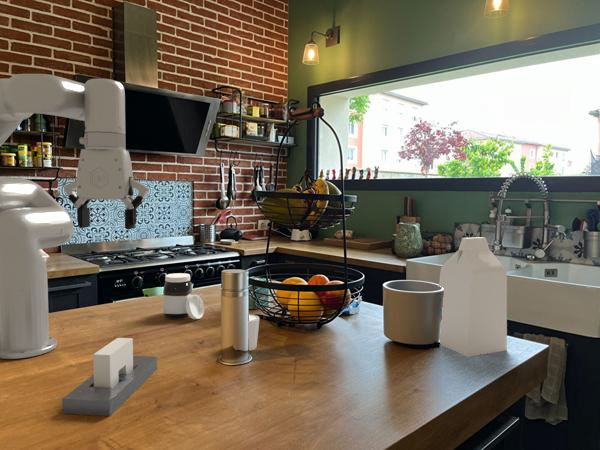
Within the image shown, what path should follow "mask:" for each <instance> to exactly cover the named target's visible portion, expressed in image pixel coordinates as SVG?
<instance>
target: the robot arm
mask: <svg viewBox="0 0 600 450" xmlns="http://www.w3.org/2000/svg"><path fill="white" fill-rule="evenodd" d="M34 114H42V115H43V114H44V115H49V116H54V117H55V116H56V117H60V118H61V117H62V118H66V119H67V118H68V119H72V120H78V121H83V122H84V136H83V137H82V136H81V137H79V144H81V145H84V148H83V149H80V154H79V158H78V163H77V171H76V172H77V173H76V179H75V180H74V181H72V182H69V183H68V184H66V185H65V186H64V188H63V189H64V191H65V192H66V193H65V194H66V195H67V197H68V200H69V201H70V203H72V204H73V206H74V209H75V208H76V214H77V215H76V216H77V224H78V228H79V229H85V228H89V227H90V226H91V214H90V213H91V209H90V207H88V206H89V204H90V203H91V202H92V200H98V201H99V200H101V201H103V200H105V201H107V200H108V201H109V200H110V201H116V200H121V202H122V203H123V204H124V205H125V206H126V209H124V228H125V230H131V229H136V228H135V227H136V225H137V209H138V208H139V207H140V206H141V205H142V203H143V202H145V200H146V199H145V198H146V197H147V195H148V193H149V190H150V188H149V187H148V186H146V185H144V184H142V183H140V182H139V181H137V180H135V179H134V176H133V175H134V174H133V166H132V165H133V164H132V161H131V160H132V159H131V156H130V152H129V150H127V149H126V148H127V147H126V92H125V87H124V85H123V84H122V83H121V82H120V81H116V80H114V79H109V78H91V79H88V80H87V81H85V83H83V82H79V81H76V80H73V79H69V78H65V77H61V76H57V75H53V74H49V73H48V74H47V73H17V74H13V75H12V76H10V77H9V78H0V147H2V145H3V144H4V143H5V142H6V140H8V138H9V137H10V136H11V135H12V134H13V132H15V130H16V129H18V127H19V126H20V124H21V123H22V121H24V120H27V119H29V118H30V117H31V116H32V115H34ZM134 189H135V190H137V191H138V194H137V196H136V197H135V198H134ZM74 227H75V226H74V223H73V220H72V218H71V215H70V214H69V213H68V211H67V210H66V209H65V208H64V207H63V206H62V205H61V204H60V203H59V202H57V200H55V199H54V198H53V197H52V195H50V193H48V192H47V191H46V190H45V189H44V188H43V187H42V186H41V185H40V184H38V183H36V182H35V181H32V180H30V179H27V178H20V177H19V178H17V177H16V178H14V177H11V178H10V177H9V178H8V177H2V176H0V359H4V360H5V359H6V360H17V359H26V358H32V357H36V356H40V355H41V356H42V355H43V354H46V353H49V352H51V351H53V350H54V349H55V348H56V347H58V346H57V345H58V340H57V339H56V338H55V337H54V336H53V337H52V336H50V328H49V327H50V324H49V321H50V320H49V318H50V317H49V286H48V285H49V284H48V269H47V265H46V263H45V261H44V259H43V258H42V255H41V254H40V252H39V250H42V249H49V248H55V247H59V246H62V245H65V244H66V243H68V242H69V241H70V240H71V239H72V237H73V235H74Z"/></svg>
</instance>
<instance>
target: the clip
mask: <svg viewBox="0 0 600 450" xmlns="http://www.w3.org/2000/svg"><path fill="white" fill-rule="evenodd" d="M92 355H93V357H92V358H93V375H94V387H102V388H114V387H115V386H116V385H117V384H118V383H119V374H129V373H130V372H131V371H133V356H134V340H133V338H131V337H117V338H115V339H114V340H112V341H111V342H110V343H108V344H106V345H105V346H103V347H101V348H100V349H99V350H97V351H96V352H95V353H93V354H92Z"/></svg>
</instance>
